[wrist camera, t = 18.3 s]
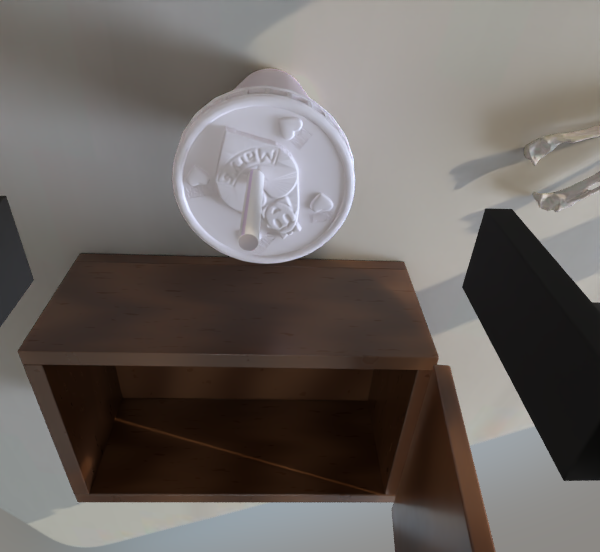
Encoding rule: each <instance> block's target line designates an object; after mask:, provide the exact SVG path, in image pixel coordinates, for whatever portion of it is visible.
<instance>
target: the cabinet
mask: <svg viewBox="0 0 600 552" xmlns="http://www.w3.org/2000/svg"><path fill="white" fill-rule="evenodd" d="M18 353H19V356H20V358H21V361H22V363H23V366H24V369H25V371H26V374H27V376H28V379H29V381H30V384H31V386H32V389H33V391H34V394H35V396H36V399H37V401H38V404H39V406H40V409H41V411H42V414H43V417H44V419H45V422H46V424H47V427H48V429H49V432H50V434H51V437H52V439H53V442H54V444H55V447H56V449H57V452H58V454H59V457H60V459H61V462H62V464H63V467H64V470H65V472H66V475H67V477H68V480H69V482H70V485H71V487H72V490H73V492H74V494H75V496H76V499H77V502H394V500H395V497H396V494H397V490H398V487H399V483H400V480H401V476H402V473H403V469H404V466H405V462H406V459H407V456H408V452H409V449H410V445H411V442H412V438H413V435H414V431H415V428H416V424H417V421H418V418H419V414H420V411H421V407H422V404H423V400H424V397H425V393H426V390H427V386H428V383H429V380H430V376H431V373H432V369H433V366H434V365H437V362H438V359H439V356H438V354H437V351H436V348H435V345H434V343H433V340H432V337H431V334H430V332H429V329H428V326H427V323H426V321H425V318H424V315H423V312H422V310H421V307H420V304H419V302H418V299H417V296H416V293H415V291H414V288H413V285H412V282H411V280H410V277H409V274H408V271H407V269H406V266H405V263H404V262H398V261H358V260H318V259H294V260H291V261H286V262H281V263H270V264H264V263H252V262H246V261H242V260H238V259H235V258H232V257H198V256H157V255H117V254H79V256H78V257H77V259H76V261H75V262H74V264H73V265H72V267H71V268H70V270H69V271H68V273H67V275H66V276H65V278H64V279H63V281H62V282H61V284H60V285H59V287H58V289H57V290H56V292H55V293H54V295H53V296H52V298H51V300H50V301H49V303H48V304H47V306H46V307H45V309H44V311H43V312H42V314H41V315H40V317H39V318H38V320H37V321H36V323H35V325H34V326H33V328H32V329H31V331H30V332H29V334H28V336H27V337H26V339H25V340H24V342H23V343H22V345H21V347H20V348H19V350H18Z"/></svg>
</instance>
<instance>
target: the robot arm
mask: <svg viewBox="0 0 600 552" xmlns="http://www.w3.org/2000/svg"><path fill="white" fill-rule="evenodd" d="M33 280H34V279H33V276H32V273H31V270H30V267H29V264H28V261H27V258H26V255H25V252H24V249H23V246H22V243H21V240H20V237H19V234H18V231H17V228H16V225H15V221H14V218H13V215H12V212H11V209H10V206H9V203H8V200H7V197H6V196H0V327H1V325H2V324H3V322H4V321H5V320H6V318H7V317H8V315H9V314H10V313H11V311H12V310H13V308H14V307H15V306H16V304H17V303H18V301H19V300H20V299H21V297H22V296H23V294H24V293H25V292H26V290H27V289H28V287H29V286H30V285H31V283H32V282H33ZM462 288H463V289H464V291H465V293H466V295H467V297H468V299H469V301H470V303H471V305H472V307H473V309H474V310H475V312H476V314H477V316H478V318H479V320H480V322H481V324H482V326H483V328H484V330H485V331H486V333H487V335H488V337H489V339H490V341H491V343H492V345H493V347H494V349H495V350H496V352H497V354H498V356H499V358H500V360H501V362H502V364H503V366H504V368H505V370H506V371H507V373H508V375H509V377H510V379H511V381H512V383H513V385H514V387H515V389H516V391H517V392H518V394H519V396H520V398H521V400H522V402H523V404H524V406H525V408H526V410H527V412H528V413H529V415H530V417H531V419H532V421H533V423H534V425H535V427H536V429H537V431H538V432H539V434H540V436H541V438H542V440H543V442H544V444H545V446H546V448H547V450H548V451H549V453H550V455H551V457H552V459H553V461H554V463H555V465H556V467H557V469H558V471H559V472H560V474H561V476H562V478H563V480H564V481H566V480H567V481H568V480H569V481H574V480H577V481H580V480H600V303H592V302H591V301H590V300H589V299H588V298H587V296H586V295H585V294H584V293H583V292H582V291H581V289H580V288H579V287H578V286H577V285H576V284H575V282H574V281H573V280H572V279H571V278H570V277H569V275H568V274H567V273H566V272H565V271H564V270H563V268H562V267H561V266H560V265H559V264H558V263H557V261H556V260H555V259H554V258H553V257H552V256H551V254H550V253H549V252H548V251H547V250H546V248H545V247H544V246H543V245H542V244H541V243H540V241H539V240H538V239H537V238H536V237H535V236H534V234H533V233H532V232H531V231H530V230H529V229H528V227H527V226H526V225H525V224H524V223H523V222H522V220H521V219H520V218H519V217H518V216H517V215H516V213H515V212H514V211H513V210H512V209H485V212H484V215H483V219H482V222H481V226H480V229H479V232H478V236H477V239H476V242H475V246H474V249H473V253H472V256H471V259H470V263H469V266H468V269H467V273H466V276H465V280H464V283H463V286H462Z"/></svg>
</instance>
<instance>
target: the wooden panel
mask: <svg viewBox="0 0 600 552" xmlns="http://www.w3.org/2000/svg"><path fill="white" fill-rule="evenodd" d="M392 519H393V531H394V543H395V552H496V551H495V547H494V543H493V539H492V535H491V531H490V527H489V523H488V519H487V515H486V511H485V507H484V503H483V498H482V495H481V491H480V486H479V482H478V478H477V474H476V470H475V466H474V462H473V458H472V454H471V450H470V446H469V442H468V438H467V433H466V429H465V425H464V421H463V417H462V413H461V409H460V405H459V401H458V397H457V393H456V389H455V385H454V381H453V377H452V373H451V368H450V366H447V365H434V366H433V369H432V373H431V376H430V380H429V383H428V386H427V390H426V393H425V397H424V400H423V404H422V407H421V411H420V414H419V418H418V421H417V424H416V428H415V431H414V435H413V438H412V442H411V445H410V449H409V452H408V456H407V459H406V462H405V466H404V469H403V473H402V476H401V480H400V483H399V487H398V490H397V494H396V497H395V500H394V504H393V507H392Z"/></svg>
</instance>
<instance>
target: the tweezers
mask: <svg viewBox="0 0 600 552" xmlns="http://www.w3.org/2000/svg"><path fill="white" fill-rule="evenodd" d="M598 136H600V125H598V126H594V127H590V128H587V129H584V130H579V131H573V132H568V133H563V134H552V135H548V136H544V137H541V138H539V139H537V140H535V141H533V142H531V143H529V144H528V145H526V146H525V148H524V156H525V157H526V158H528V159H530V160H531V162H532V164H533V165H534V166H535V165H536V164H537V162H538V161H539V159H540V158H542V157H544V156H545V155H546V154H547V153H549V152H551V151H552V150H553V149H554V148H555V147H556V146H557V145H559V144H560V143H563V142H570V143H575V142H578V141H582V140H585V139H590V138H595V137H598ZM599 181H600V171H599V172H598V173H596V174H594V175H593V176H591V177H589V178H587V179H585V180H583V181H581V182H579V183H577V184H574V185H572V186H570V187H568V188H565V189H563V190H560V191H557V192H553V193H536V192H533V193H532V194H533V196H534V198H535V200H536V201H537V202H538V204H539V207H540V208H542V209H544V210H547V211H551V210H554V211H555V212H558V211H560V210H562V209H564V208H567V207H570V206H572V205H573V204H574V203H576V202H577V201H580V200H582V199H584V198H586V197H588V196H590V195H592V194H594V193H596V192H598V191H600V186H599V187H597V188H595V189H593V190H588V188H589V187H590V186H591V185H593V184H595V183H597V182H599Z"/></svg>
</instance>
